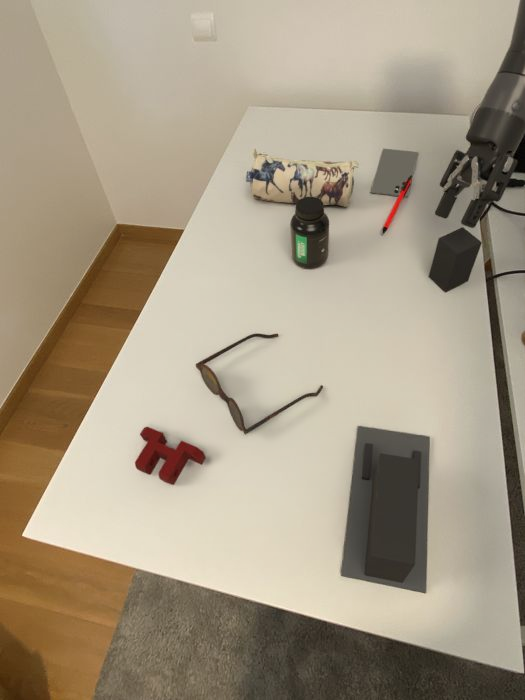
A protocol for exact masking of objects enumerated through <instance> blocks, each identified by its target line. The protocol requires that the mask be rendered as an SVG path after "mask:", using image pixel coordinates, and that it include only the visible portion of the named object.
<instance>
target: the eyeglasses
mask: <svg viewBox="0 0 525 700" xmlns="http://www.w3.org/2000/svg"><path fill="white" fill-rule="evenodd" d="M278 337H279V333H273V334H265V333H252V334H249V335H247V336H245V337H243V338H241V339H240V340H237V341H236V342H233V343H232V344H230V345H228V346H226V347H225V348H223V349H220V350H219V351H217V352H215V353H213V354H212V355H209V356H208V357H206V358H204V359H202V360H201V361H199V362H197V363H195V367H196V369H197V370H198V371H199V372H200V375H201V378H202V381H203V382H204V384H205V386H206V387H207V388H208V390H210V392H211V393H212V394H214V395H215V396H219V398H220V399H221V400H222V401H224V402H225V403H226V404H227V407H228V411H229V413H230V416H231V418H232V420H233V423H234V424H235V426H236V427H237V429H238V430H239V431H240V432H243V434H244V435H245V436H246V435H247V434H249V433H251V432H252V431H254V430H256V429H258V428H259V427H260V426H262V425H263V424H265V423H267V422H269V421H270V420H271V419H273V418H274V417H276V416H278V415H279V414H281V413H283V412H285V410H288V409H289V408H290V407H292V406H294V405H296V404H297V403H300V402H301V401H302V400H304V399H306V398H312V397H318V396H319V395H320V393H321V391H322V390H323V388H324V385H323V384H321V385H320V386H319V387H318V389H317V391H316V392H308V393H306V394H303V395H301V396H299V397H298V398H295V399H294V400H293V401H291V402H289V403H287V404H285V405H284V406H282V407H281V408H279V409H277V410H275V411H274V412H273V413H271V414H269V415H267V416H265V417H264V418H262V419H260V420H259V421H258V422H256V423H254V424H253V425H251V426H250V427H247V428H246V426H245V420H244V416H243V414H242V411H241V409H240V406H239V405H238V403H237V401H236V400H235V399H234V398H232V397H229V396H228V395H227V394H226V393H225V391H224V389H223V388H222V386H221V384H220V381H219V379H218V377H217V375H216V374H215V372H214V371H213V370H212V368H210V366H208V365H206V364H207V363H209V362H211V361H213V360H214V359H216V358H218V357H220V356H222V355H224V354H225V353H226V352H229V351H231V350H232V349H234V348H235V347H237V346H239V345H241V344H243V343H244V342H246V341H249V340H250V339H253V338H262V339H274V338H278Z"/></svg>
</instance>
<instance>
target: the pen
mask: <svg viewBox="0 0 525 700" xmlns="http://www.w3.org/2000/svg"><path fill="white" fill-rule="evenodd" d="M411 178H412V179H411ZM411 180H412V181H413V176H412V175H411V176H410V177H409V178H408V179H407V181H406V183H405V185H404V187H403V189H402V191H401V193H400V195H399V197H398V196H397V199H396V201H395V202H394V205H393V207H392V209H391V211H390V212H389V215H388V217H387V219H386V221H385V222H384V224H383V227H382V232H381V235H384V234H385V233H386V232H387V230H388V229H389V227H390V225H391V223H392V221H393V219H394V216H395V215H396V213H397V210H398V209H399V206H400V204H401V203H402V200H403V198H404V197H403V196H404V194H405V192H406V190H407V188H408V186H409V184H410V182H411ZM411 183H412V182H411Z"/></svg>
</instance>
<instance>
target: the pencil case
mask: <svg viewBox="0 0 525 700" xmlns="http://www.w3.org/2000/svg"><path fill="white" fill-rule="evenodd" d="M252 155H253V156H252V157H253V158H254V161H253V164H252V167H251V171H249V170H247V171H246V178H245V182H247V183H249V184H250V188H251V194H252V195H251V196H252V197H253V198H254V199H255V200H262V201H266V202H274V203H287V204H288V203H289V204H296V203H297V201H299V200H300V199H301V198H303V197H311V196H312V197H317V198H319V199H321V201H322V202H323V204H324V206H335V205H337V206H341V207H343V208H347V207H349V205H350V202H351V197H352V193H353V190H354V185H355V179H354V170H355V168H356V169H358V168H359V163H358V162H357V161H355V160H353V161H352V160H345V161H335V162H334V161H333V162H332V161H326V160H325V161H322V160H321V161H319V160H316V161H315V160H303V159H302V160H294V159H286V158H279V157H274V156H270V155H268V154H267V153H266V152H259V153H258V152H257V148H253V151H252Z"/></svg>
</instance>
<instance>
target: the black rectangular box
mask: <svg viewBox="0 0 525 700" xmlns="http://www.w3.org/2000/svg"><path fill="white" fill-rule="evenodd" d="M482 244H483V241H481V240H480V239H479V238H477V237H476V236H475V235H473V234H472V233H471V232H469V231H468V230H467V229H466V228H465V227H463V226H462V227H460V228H457V229H456V230H453V231H451V232H449V233H447V234H444V235H442V236H439V237H438V239H437V243H436V247H435V250H434V254H433V258H432V261H431V265H430V270H429V273H428V278H429V279H430V280H431V281H432V282H433V283H434V284H435V285H436V286H437V287H439V288H440V289H441V290H442V291H443V292H444V293H447V292H449V291H451V290H454V289H456V288H457V287H460V286H462V285H464V284H466V283H468V282H469V280H470V277H471V274H472V272H473V268H474V266H475V263H476V260H477V257H478V255H479V253H480V249H481V246H482Z"/></svg>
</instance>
